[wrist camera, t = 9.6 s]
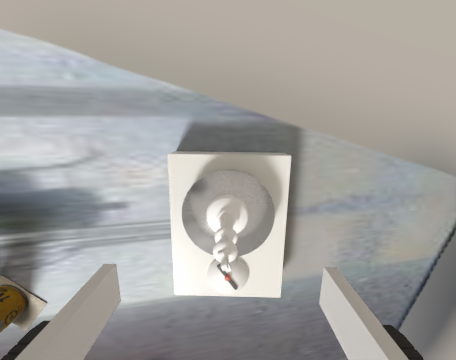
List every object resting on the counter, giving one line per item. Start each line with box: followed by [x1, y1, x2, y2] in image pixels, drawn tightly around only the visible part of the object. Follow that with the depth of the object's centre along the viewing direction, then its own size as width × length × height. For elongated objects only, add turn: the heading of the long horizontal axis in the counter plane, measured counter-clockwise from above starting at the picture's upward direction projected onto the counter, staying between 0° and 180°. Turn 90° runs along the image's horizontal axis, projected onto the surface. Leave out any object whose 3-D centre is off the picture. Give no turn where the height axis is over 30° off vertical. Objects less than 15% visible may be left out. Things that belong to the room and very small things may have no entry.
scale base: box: [167, 151, 291, 297], centre depth 29 cm, size 20×15×5 cm
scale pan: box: [182, 169, 275, 257], centre depth 26 cm, size 11×11×2 cm
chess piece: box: [207, 195, 248, 273], centre depth 20 cm, size 5×5×10 cm
